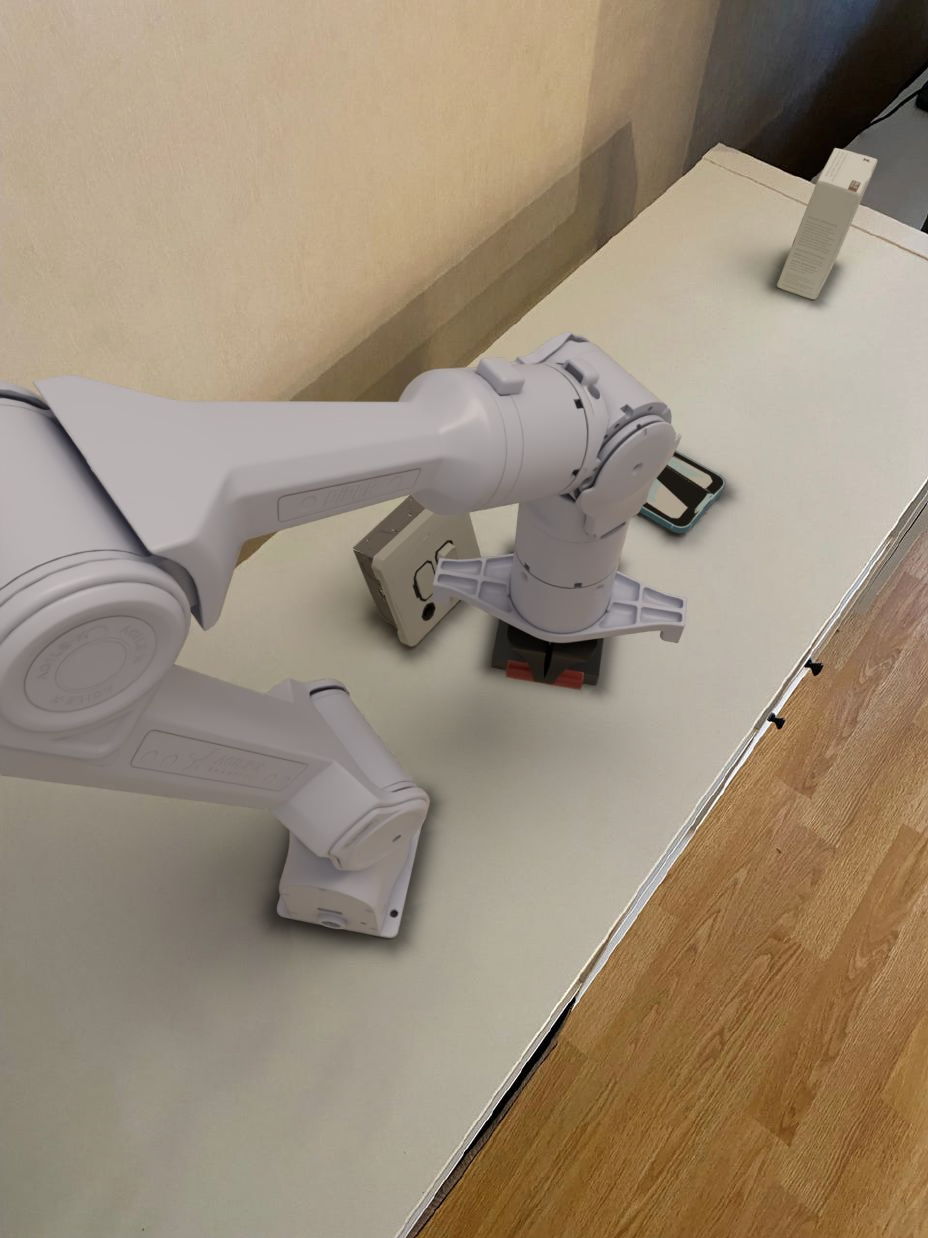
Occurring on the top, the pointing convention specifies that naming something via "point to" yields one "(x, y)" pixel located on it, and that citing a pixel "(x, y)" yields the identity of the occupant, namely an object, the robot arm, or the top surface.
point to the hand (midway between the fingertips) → (545, 669)
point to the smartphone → (682, 493)
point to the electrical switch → (412, 564)
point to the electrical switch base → (505, 654)
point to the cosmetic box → (826, 222)
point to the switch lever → (524, 673)
